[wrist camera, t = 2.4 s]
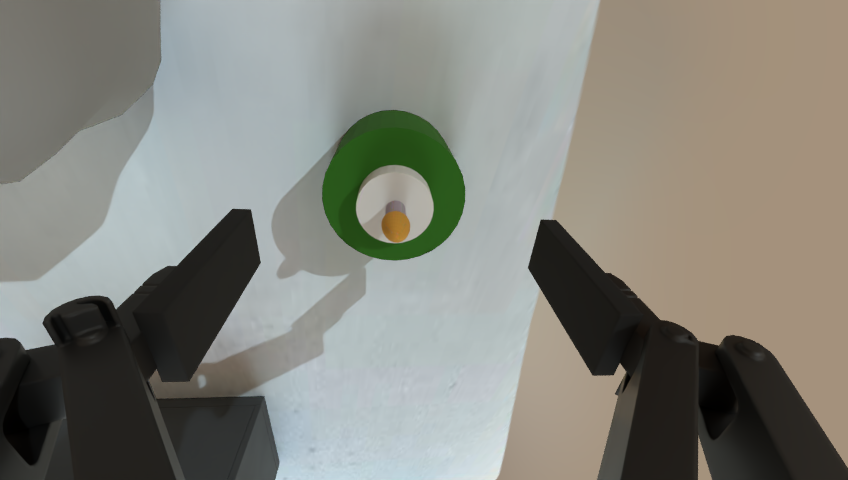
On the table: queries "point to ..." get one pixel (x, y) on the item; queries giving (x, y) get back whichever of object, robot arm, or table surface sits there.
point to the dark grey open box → (204, 440)
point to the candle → (393, 187)
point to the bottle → (69, 71)
